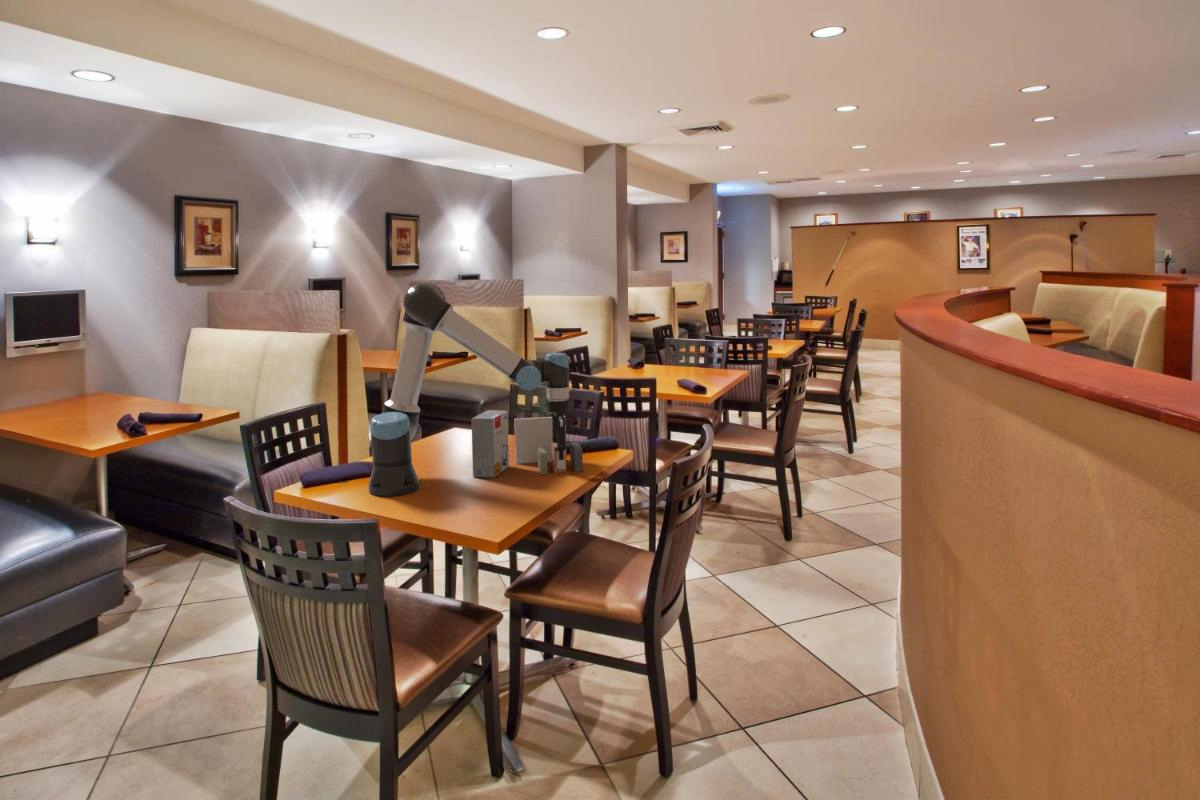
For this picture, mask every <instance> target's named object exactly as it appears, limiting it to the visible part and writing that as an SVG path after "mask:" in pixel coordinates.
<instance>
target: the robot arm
mask: <svg viewBox="0 0 1200 800" xmlns="http://www.w3.org/2000/svg"><path fill="white" fill-rule="evenodd" d="M403 309H404V312H403V317H402V322H403V325H405V331H404V336H403V340H402V345H401V349H400V355H399V357H398V363H397V368H396V372H395V376H394V381H393V384H392V389H391V390H392V391H391V393H390V398H389V399H387V400H386V401H384V403H383V408H382V412H381V413H380V414H376V415H374V416H373V417H372V418H371V419H370V425H369V432H370V440H371V441H370V443H371V455H372V469H371V474H370V477H369V481H368V492H369V494H371V495H374V496H379V497H393V496H394V497H395V496H401V495H402V496H403V495H407V494H411V493H413V492H415V491H417V490H418V489H419V488H420V480H419V477H418V475H417V473H416V470H415V468H414V465H413V460H412V459H413V458H412V441H413V439H414V438H415V436H417V435H416V434H417V433H418V429H419V418H420V413H421V408H420V406H418V401H419V396H420V394H421V393H420V392H421V388H422V383H423V379H424V375H425V370H426V366H427V362H428V357H429V353H430V348H431V344H432V340H433V335H434V334H435V333H437V332H441V334H444V335H445V336H446V337H448V338H449V339H451V340H452V341H454V342H455V343H456V344H458V345H460V346H461V347H463V348H464V349H465V350H467V351H469V353H472V354H473V355H475V356H476V357H477V358H478V359H480V360H482V361H483V362H485V363H487V364H488V365H489V366H491V367H492V368H494V369H495V370H496V371H499V372H500V373H501V374H503V375H505V377H507V378H509V379H510V380H509V381H510V382H511V383H513V384H516V385H517V386H518V387H519V388H521V389H522V390H525V391H533V390H535V389H536V388H538V387H539V385H540V384H541V383H546V389H545V390H546V391H545V392H546V399H547V400H546V409H547V411H548V412H549V413H551V417H552V438H553V439H552V441H553V443H557V449H555V451H557V469H565V450H566V451H567V435H566V436H565V423H566V424H567V422H566V421H567V420H566V421H565V417H566V416H565V415H564V413H566V412H569V411H570V400H569V399H570V392H571V391H572V390H571V388H570V367H569V366H570V365H569V364H570V363H569V356H568V354H567V353H564V352H550V353H547V354H546V355H545V359H524V358H523V357H521V356H519V354H517V353H516V352H515V351H513V350H511V349H510V348H508V347H507V346H506V345H504V344H503V343H501V342H500V341H498V340H497V339H495V338H494V337H493V336H492V335H489V334H488V333H487V332H485V331H483V330H482V329H480V328H479V327H478V326H477V325H475V324H474V323H472V322H471V321H469V320H468V319H466V318H465V317H463V316H462V315H461V314H459V313H457V312H456V311H455V310H454V306H453V305H452V304H450V303H449V302H448V301H447V300H446V296H445V293H444V292H443V291H442V289H441V288H439V287H438V286H436V284H432V283H428V282H423V283H419V284H418V283H417V284H414V285H412V286H411V287H410V288H409V289H408V290H406V292H405V294H404V296H403ZM564 416H565V417H564Z"/></svg>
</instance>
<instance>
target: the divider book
mask: <svg viewBox="0 0 1200 800" xmlns="http://www.w3.org/2000/svg"><path fill="white" fill-rule="evenodd" d="M537 467H538V471H539V472H540V475H544V474H545V475H547V474H548V462H547V453H546V451H545V449H544V448H538V462H537Z"/></svg>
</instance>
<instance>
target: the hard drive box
mask: <svg viewBox="0 0 1200 800" xmlns="http://www.w3.org/2000/svg"><path fill="white" fill-rule="evenodd" d="M508 412H509V411H508V410H492V409H491V410H485V411H483V412H481V413H480V414H478V415H475V416H474V417H472V418H471V445H472V446H471V453H472V454H471V455H472V458H471V459H472V477H474V478H475V477H476V478H489V479H490V478H492V479H494V478H496V477H497V476H499V475H500V474H501V473H502V472H503V471H505V470H506V469H508V468H509V467H510V457H509V456H510V454H509V453H510V450H509V419H508V418H509V414H508Z"/></svg>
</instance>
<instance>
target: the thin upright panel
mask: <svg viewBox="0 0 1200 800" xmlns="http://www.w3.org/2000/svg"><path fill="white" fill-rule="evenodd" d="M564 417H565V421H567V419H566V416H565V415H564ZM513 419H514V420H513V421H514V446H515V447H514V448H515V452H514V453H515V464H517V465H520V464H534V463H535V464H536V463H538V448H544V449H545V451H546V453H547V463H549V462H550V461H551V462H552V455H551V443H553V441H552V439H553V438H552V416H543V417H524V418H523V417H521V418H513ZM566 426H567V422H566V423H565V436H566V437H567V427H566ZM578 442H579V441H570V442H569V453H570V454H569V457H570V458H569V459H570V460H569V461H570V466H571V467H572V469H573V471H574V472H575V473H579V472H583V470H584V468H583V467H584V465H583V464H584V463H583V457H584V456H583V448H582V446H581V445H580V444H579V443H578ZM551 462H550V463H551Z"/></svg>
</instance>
